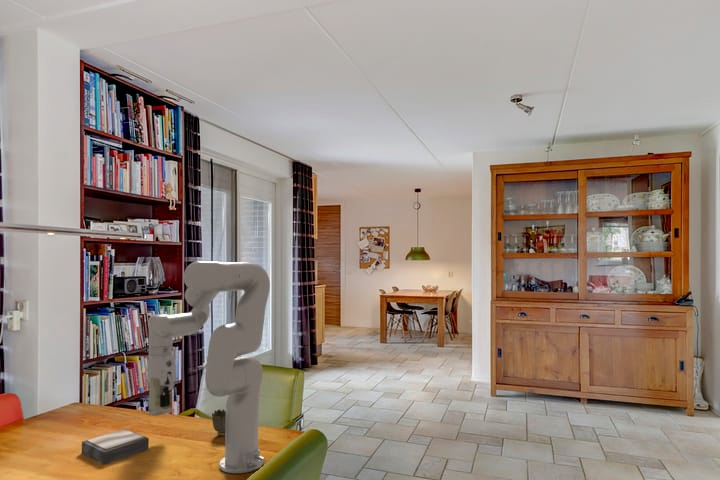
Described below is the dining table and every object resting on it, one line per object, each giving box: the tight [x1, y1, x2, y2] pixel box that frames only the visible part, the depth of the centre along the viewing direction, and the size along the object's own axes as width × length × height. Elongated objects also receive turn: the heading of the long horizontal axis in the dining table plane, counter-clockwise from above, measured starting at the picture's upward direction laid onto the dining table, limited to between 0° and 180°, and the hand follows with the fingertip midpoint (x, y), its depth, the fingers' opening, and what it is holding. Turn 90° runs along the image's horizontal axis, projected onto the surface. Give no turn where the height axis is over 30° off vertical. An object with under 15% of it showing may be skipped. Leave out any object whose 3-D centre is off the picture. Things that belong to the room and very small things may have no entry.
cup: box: [211, 409, 226, 437], centre depth 164 cm, size 8×7×8 cm
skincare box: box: [148, 378, 173, 417], centre depth 161 cm, size 6×4×12 cm
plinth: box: [81, 428, 150, 466], centre depth 150 cm, size 14×14×4 cm
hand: (160, 404), depth 160 cm, fingers closed on skincare box, 4 cm apart
